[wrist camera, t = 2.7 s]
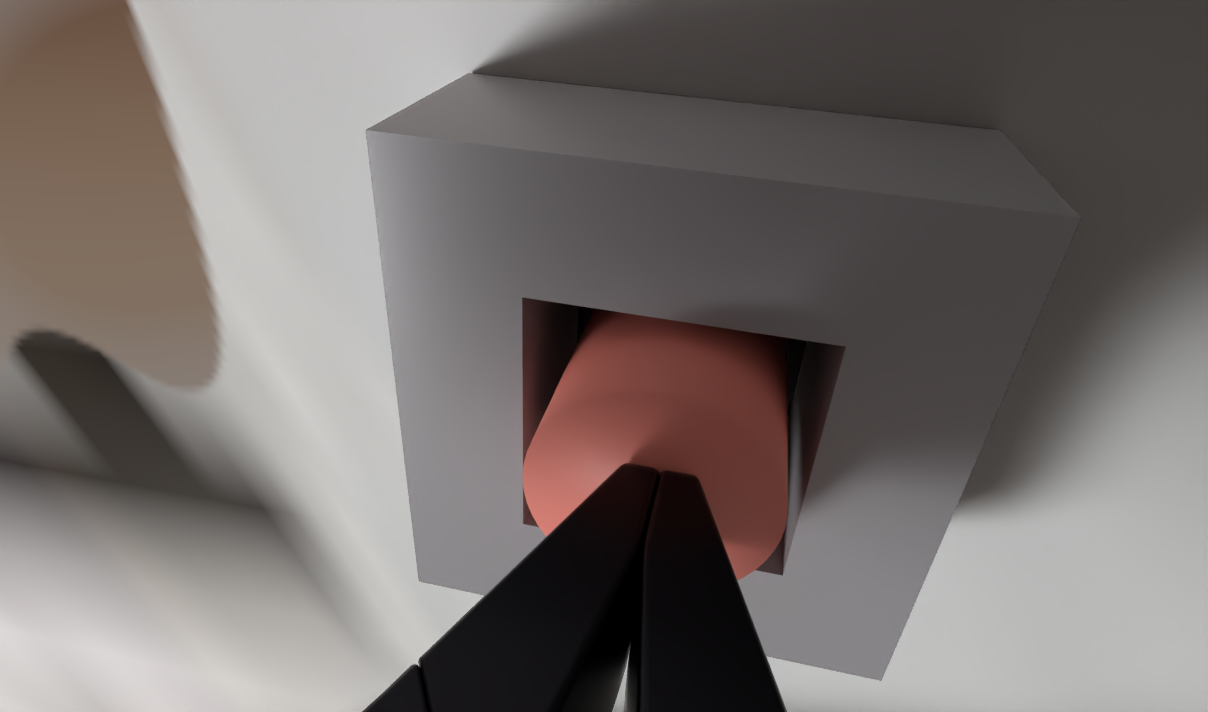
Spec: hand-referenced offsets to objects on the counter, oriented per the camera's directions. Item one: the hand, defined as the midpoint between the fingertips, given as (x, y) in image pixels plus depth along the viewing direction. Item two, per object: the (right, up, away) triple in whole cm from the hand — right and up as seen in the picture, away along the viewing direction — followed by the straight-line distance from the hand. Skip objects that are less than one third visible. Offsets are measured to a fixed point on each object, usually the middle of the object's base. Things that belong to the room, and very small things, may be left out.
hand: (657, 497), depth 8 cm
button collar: (+1, +2, +3) cm, 4 cm away
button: (+1, +2, +3) cm, 4 cm away
